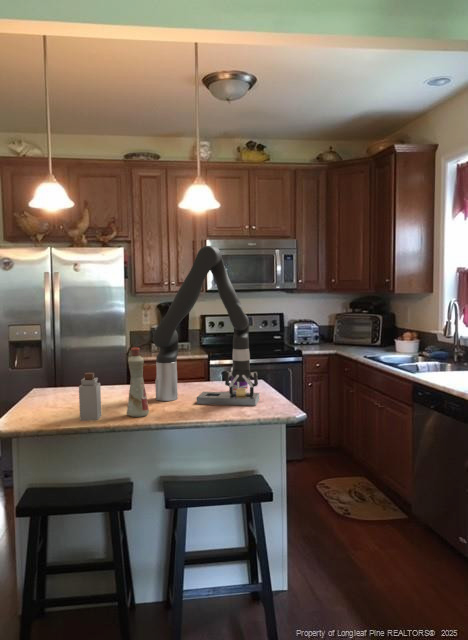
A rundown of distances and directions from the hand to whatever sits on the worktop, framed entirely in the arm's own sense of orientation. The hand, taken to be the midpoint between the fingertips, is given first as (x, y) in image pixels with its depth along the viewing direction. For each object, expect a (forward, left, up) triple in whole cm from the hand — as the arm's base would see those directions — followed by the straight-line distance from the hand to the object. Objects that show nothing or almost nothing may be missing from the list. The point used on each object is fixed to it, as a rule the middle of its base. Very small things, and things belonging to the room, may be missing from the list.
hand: (241, 395), depth 226 cm
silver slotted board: (-6, 0, -3) cm, 7 cm away
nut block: (0, 0, -3) cm, 3 cm away
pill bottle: (-5, +22, -3) cm, 23 cm away
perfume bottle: (-55, -34, -3) cm, 65 cm away
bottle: (-38, -27, -3) cm, 47 cm away
